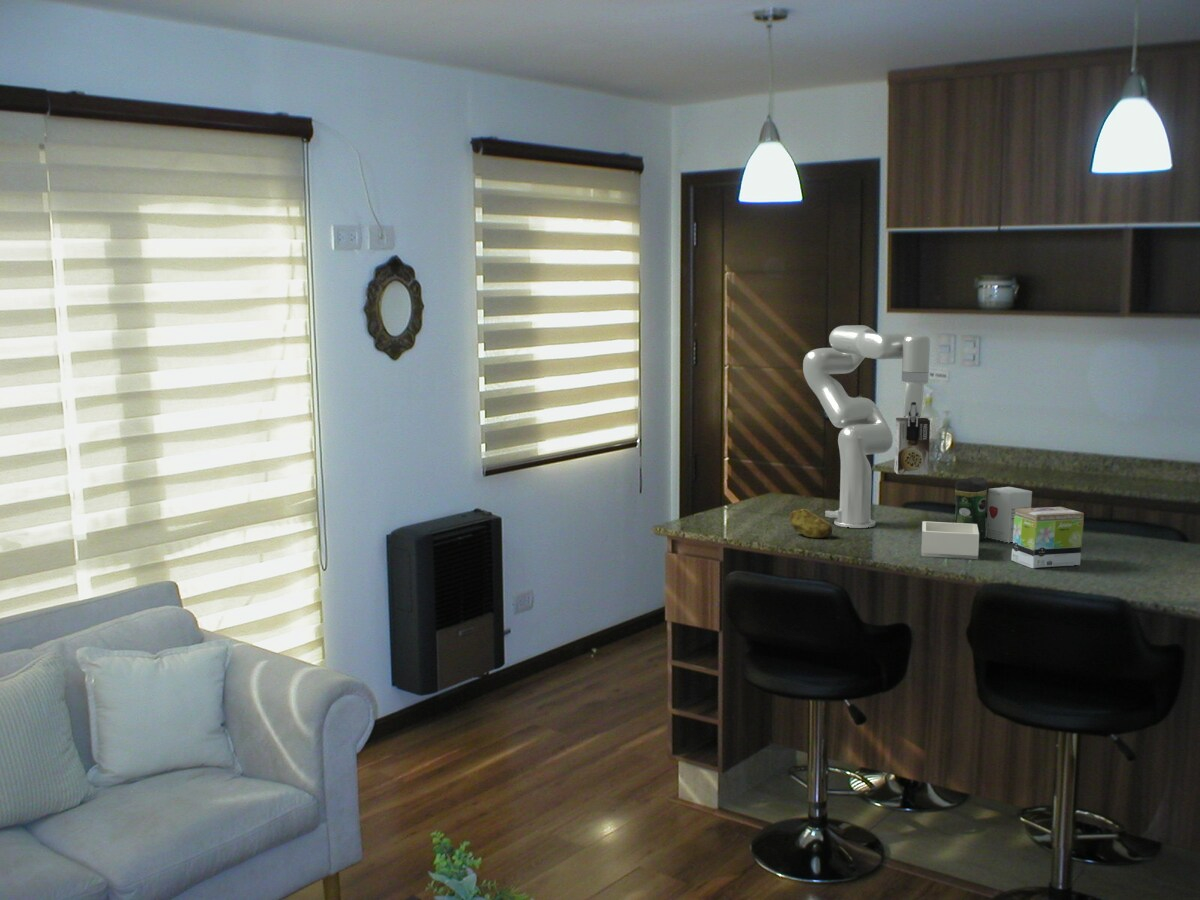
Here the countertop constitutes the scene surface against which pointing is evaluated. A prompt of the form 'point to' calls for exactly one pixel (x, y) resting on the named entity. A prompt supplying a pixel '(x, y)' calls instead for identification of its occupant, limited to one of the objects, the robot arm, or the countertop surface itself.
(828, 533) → the potato
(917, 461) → the coffee box
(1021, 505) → the supplement box
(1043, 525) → the tea box
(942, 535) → the tote
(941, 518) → the countertop surface
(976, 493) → the coffee jar
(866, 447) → the robot arm
